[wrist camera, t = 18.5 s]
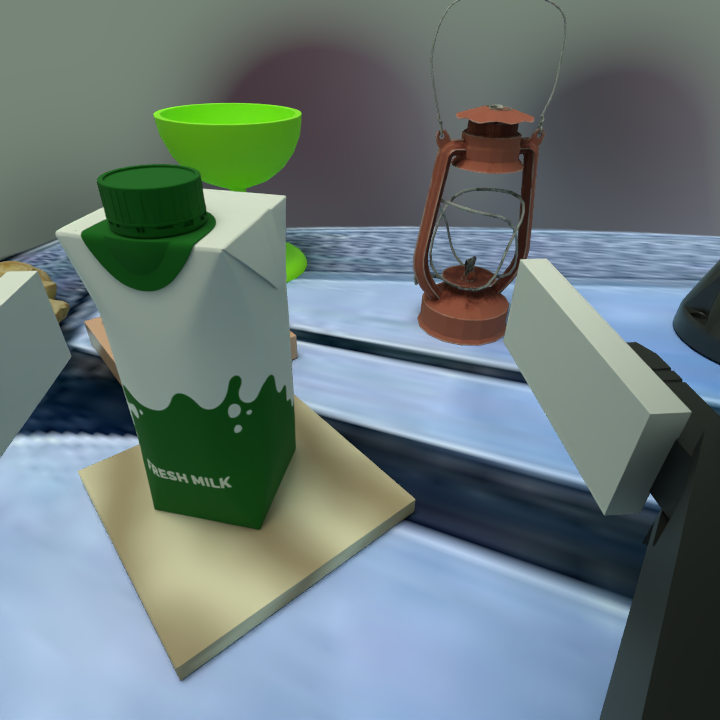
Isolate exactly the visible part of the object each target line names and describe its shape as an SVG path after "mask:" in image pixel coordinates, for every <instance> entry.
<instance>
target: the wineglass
mask: <svg viewBox="0 0 720 720" xmlns="http://www.w3.org/2000/svg"><path fill="white" fill-rule="evenodd" d="M153 116H154V119H155V122H156V125H157V128H158V131H159V134H160V137H161V138H162V140H163V141H164V143H165V145H166V147H167V148H168V150H169V152H170V153H171V155H172V157H173V158H174V159H175V160H176V161H177V162H178V163H179V164H180V165H181V166H187V167H191V168H194V169H196V170H198V171H199V172H200V175H201V180H202V181H204V182H206V183H208V184H212V185H216V186H220V187H224V188H229V189H230V191H235V192H246V188H248V187H252V186H255V185H257V184H260V183H263V182H265V181H267V180H269V179H270V178H271V177H273V176H274V175H275V174H276V173H278V172H279V171H280V170H281V169H282V168H283V167H284V166H285V164H286V163H287V161H288V160H289V158H290V157H291V156H292V154H293V153H294V150H295V147H296V144H297V141H298V139H299V135H300V127H301V112H300V111H298V110H296V109H292V108H288V107H283V106H276V105H265V104H248V103H214V104H195V105H185V106H176V107H171V108H166V109H162V110H159V111H156V112H155V113H154V114H153ZM306 267H307V260H306V257H305V255H304V254H303V253H302V252H301V250H300V249H299V248H297V247H295V246H294V245H292V244H290V243H288V242H286V275H287V279H286V283H287V282H289V281H291V280H293V279H295V278H297V277H298V276H299V275H301V274H302V273H303V272H304V271H305V269H306Z"/></svg>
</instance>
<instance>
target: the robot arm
mask: <svg viewBox="0 0 720 720" xmlns="http://www.w3.org/2000/svg"><path fill="white" fill-rule="evenodd" d="M673 326H674V329H675V331H676V332H677V334H678V335H679V336H680V337H681V339H682V340H683V341H685V342H686V343H687V344H688V345H689V346H691V347H692V348H694V349H695V350H697V351H698V352H700V353H701V354H703V355H705V356H707V357H708V358H710V359H712V360H714V361H716V362H719V363H720V260H719V261H718V262H717V263H716V264H715V265H714V266H713V268H712V269H711V270H710V271H709V272H708V273H707V274H706V275H705V276H704V277H703V278H702V279H701V280H700V282H699V283H698V284H697V285H696V286H695V287H694V288H693V289H692V290H691V291H690V292H689V293H688V295H687V296H686V297H685V298H684V299H683V300H682V302H681V304H680V306H679V308H678V310H677V313H676V315H675V317H674V320H673ZM503 342H504V343H505V345H506V347H507V349H508V350H509V352H510V354H511V355H512V357H513V359H514V361H515V362H516V364H517V366H518V368H519V369H520V371H521V373H522V374H523V376H524V378H525V380H526V381H527V383H528V385H529V387H530V388H531V390H532V392H533V393H534V395H535V397H536V399H537V400H538V402H539V404H540V405H541V407H542V409H543V411H544V412H545V414H546V416H547V418H548V419H549V421H550V423H551V424H552V426H553V428H554V430H555V431H556V433H557V435H558V436H559V438H560V440H561V442H562V443H563V445H564V447H565V449H566V450H567V452H568V454H569V455H570V457H571V459H572V461H573V462H574V464H575V466H576V468H577V469H578V471H579V473H580V474H581V476H582V478H583V480H584V481H585V483H586V485H587V486H588V488H589V490H590V492H591V493H592V495H593V497H594V499H595V500H596V502H597V504H598V505H599V507H600V509H601V511H602V512H603V514H604V515H618V514H635V513H640V512H641V510H642V508H643V506H644V504H645V502H646V500H647V498H648V496H649V494H650V493H651V495H652V496H653V497H654V499H655V500H656V502H657V503H658V505H659V506H660V507H661V510H660V512H659V514H658V515H657V517H656V519H655V521H654V523H653V525H652V526H651V528H650V530H649V532H648V534H647V535H646V537H645V539H644V541H643V544H645V545H647V546H648V547H647V551H646V554H645V558H644V562H643V565H642V569H641V572H640V576H639V580H638V583H637V587H636V590H635V594H634V597H633V601H632V605H631V608H630V612H629V615H628V619H627V623H626V626H625V630H624V633H623V637H622V641H621V644H620V648H619V651H618V655H617V659H616V662H615V666H614V669H613V673H612V677H611V680H610V684H609V687H608V691H607V694H606V698H605V702H604V705H603V709H602V712H601V716H600V720H720V416H719V415H718V414H717V413H716V412H715V411H714V410H713V409H712V408H711V407H710V406H709V405H708V404H707V403H706V402H705V401H704V400H703V399H702V398H701V397H700V396H699V395H698V394H697V393H696V392H695V391H694V390H693V389H692V388H691V387H690V386H689V385H688V384H687V383H686V382H682V379H681V378H680V377H679V376H678V375H677V374H676V373H675V372H674V371H671V368H670V367H669V366H668V365H667V364H666V363H665V362H664V361H663V360H662V359H661V358H660V357H659V356H658V355H657V354H656V353H654V352H652V351H651V350H649V349H647V348H645V347H644V346H642V345H640V344H639V343H637V342H631V343H626V342H625V341H624V340H623V339H622V338H621V337H620V336H619V335H618V334H617V333H616V332H615V330H614V329H613V328H612V327H611V326H610V325H609V324H608V323H607V322H606V321H605V320H604V319H603V318H602V317H601V316H600V315H599V314H598V313H597V312H596V310H595V309H594V308H593V307H592V306H591V305H590V304H589V303H588V302H587V301H586V300H585V299H584V298H583V297H582V296H581V295H580V294H579V293H578V292H577V290H576V289H575V288H574V287H573V286H572V285H571V284H570V283H569V282H568V281H567V280H566V279H565V278H564V277H563V276H562V275H561V274H560V273H559V271H558V270H557V269H556V268H555V267H554V266H553V265H552V264H551V263H550V262H549V261H548V260H547V259H520V263H519V268H518V273H517V277H516V282H515V287H514V292H513V297H512V302H511V306H510V311H509V316H508V321H507V326H506V330H505V335H504V340H503ZM70 358H71V354H70V352H69V349H68V347H67V344H66V341H65V339H64V336H63V334H62V331H61V329H60V326H59V324H58V321H57V319H56V316H55V313H54V311H53V308H52V306H51V303H50V301H49V298H48V296H47V293H46V291H45V288H44V285H43V283H42V280H41V278H40V275H39V273H38V271H9V272H6V273H5V274H4V275H3V276H2V277H1V278H0V458H1V456H2V455H3V453H4V452H5V451H6V449H7V448H8V446H9V445H10V443H11V442H12V441H13V439H14V438H15V436H16V435H17V433H18V432H19V431H20V429H21V428H22V426H23V425H24V423H25V422H26V421H27V419H28V418H29V416H30V415H31V413H32V412H33V411H34V409H35V408H36V406H37V405H38V403H39V402H40V401H41V399H42V398H43V396H44V395H45V393H46V392H47V391H48V389H49V388H50V386H51V385H52V383H53V382H54V381H55V379H56V378H57V376H58V375H59V373H60V372H61V371H62V369H63V368H64V366H65V365H66V363H67V362H68V361H69V359H70Z"/></svg>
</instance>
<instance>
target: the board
mask: <svg viewBox="0 0 720 720" xmlns="http://www.w3.org/2000/svg"><path fill="white" fill-rule="evenodd" d="M294 411H295V436H296V450H295V452H294V454H293V456H292V459H291V461H290V463H289V465H288V468H287V470H286V472H285V474H284V477H283V479H282V481H281V483H280V486H279V488H278V490H277V492H276V495H275V497H274V499H273V501H272V504H271V506H270V508H269V510H268V513H267V515H266V517H265V519H264V522H263V524H262V526H261V528H260V530H258V529H253V528H248V527H243V526H238V525H233V524H227V523H222V522H217V521H212V520H207V519H202V518H197V517H192V516H186V515H181V514H176V513H171V512H166V511H161V510H155V509H154V505H153V500H152V496H151V491H150V487H149V483H148V478H147V474H146V470H145V466H144V461H143V457H142V453H141V448H140V444H139V445H137V446H135V447H132V448H130V449H128V450H125V451H123V452H121V453H119V454H116V455H114V456H112V457H109V458H107V459H105V460H102V461H100V462H98V463H96V464H93V465H91V466H89V467H86V468H84V469H82V470H80V471H78V473H79V475H80V478H81V480H82V483H83V485H84V487H85V489H86V491H87V493H88V495H89V497H90V499H91V501H92V503H93V505H94V507H95V509H96V511H97V513H98V515H99V517H100V519H101V521H102V523H103V525H104V527H105V529H106V531H107V533H108V535H109V537H110V539H111V541H112V543H113V545H114V547H115V549H116V551H117V553H118V556H119V558H120V560H121V562H122V564H123V566H124V568H125V570H126V572H127V574H128V576H129V578H130V580H131V582H132V584H133V586H134V588H135V590H136V592H137V594H138V596H139V598H140V600H141V602H142V604H143V606H144V608H145V610H146V612H147V614H148V616H149V618H150V620H151V622H152V624H153V626H154V628H155V630H156V632H157V634H158V636H159V638H160V641H161V643H162V645H163V647H164V649H165V651H166V653H167V655H168V657H169V659H170V661H171V663H172V665H173V667H174V669H175V671H176V673H177V675H178V677H179V679H180V681H181V680H182V679H184V678H185V677H187V676H188V675H189V674H191V673H192V672H193V671H195V670H196V669H198V668H199V667H200V666H202V665H203V664H205V663H206V662H207V661H209V660H210V659H211V658H213V657H214V656H216V655H217V654H218V653H220V652H221V651H222V650H224V649H225V648H227V647H228V646H229V645H231V644H232V643H233V642H235V641H236V640H238V639H239V638H240V637H242V636H243V635H245V634H246V633H247V632H249V631H250V630H251V629H253V628H254V627H256V626H257V625H258V624H260V623H261V622H262V621H264V620H265V619H267V618H268V617H269V616H271V615H272V614H273V613H275V612H276V611H278V610H279V609H280V608H282V607H283V606H285V605H286V604H287V603H289V602H290V601H291V600H293V599H294V598H296V597H297V596H298V595H300V594H301V593H302V592H304V591H305V590H307V589H308V588H309V587H311V586H312V585H313V584H315V583H316V582H318V581H319V580H320V579H322V578H323V577H324V576H326V575H327V574H329V573H330V572H331V571H333V570H334V569H336V568H337V567H338V566H340V565H341V564H342V563H344V562H345V561H347V560H348V559H349V558H351V557H352V556H353V555H355V554H356V553H358V552H359V551H360V550H362V549H363V548H364V547H366V546H367V545H369V544H370V543H371V542H373V541H374V540H376V539H377V538H378V537H380V536H381V535H382V534H384V533H385V532H387V531H388V530H389V529H391V528H392V527H393V526H395V525H396V524H398V523H399V522H400V521H402V520H403V519H404V518H406V517H407V516H409V515H410V514H411V513H413V512H414V507H415V499H414V498H413V497H412V496H411V495H410V494H409V493H407V492H406V491H405V490H404V489H403V488H402V487H401V486H399V485H398V484H397V483H396V482H395V481H394V480H392V479H391V478H390V477H389V476H388V475H387V474H385V473H384V472H383V471H382V470H381V469H380V468H379V467H377V466H376V465H375V464H374V463H373V462H372V461H370V460H369V459H368V458H367V457H366V456H365V455H364V454H362V453H361V452H360V451H359V450H358V449H357V448H355V447H354V446H353V445H352V444H351V443H350V442H348V441H347V440H346V439H345V438H344V437H343V436H342V435H340V434H339V433H338V432H337V431H336V430H335V429H333V428H332V427H331V426H330V425H329V424H328V423H327V422H325V421H324V420H323V419H322V418H321V417H320V416H318V415H317V414H316V413H315V412H314V411H313V410H311V409H310V408H309V407H308V406H307V405H306V404H305V403H303V402H302V401H301V400H300V399H299V398H298V397H296V396H295V395H294Z"/></svg>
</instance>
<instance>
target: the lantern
mask: <svg viewBox="0 0 720 720" xmlns="http://www.w3.org/2000/svg"><path fill="white" fill-rule="evenodd" d="M458 1H460V0H456V1H454V2H453V3H452V4H451V5H450V6H449V7H448V8H447V9H446V11H445V13H444V14H443V16H442V18H441V20H440V22H439V25H438V27H437V30H436V33H435V36H434V40H433V45H432V51H431V75H432V82H433V83H432V84H433V90H434V96H435V101H436V107H437V112H438V116H437V120H438V121H439V124H440V126H439V129H440V130H439V131H438V132H437V133H436V142H437V145H438V147H439V149H438V152H437V156H436V160H435V165H434V169H433V174H432V178H431V182H430V186H429V191H428V196H427V200H426V204H425V208H424V213H423V217H422V221H421V226H420V230H419V234H418V239H417V243H416V247H415V252H414V256H413V269H414V280H415V281H414V283H415V285H417V284H418V283H419V285H420V287H421V289H422V290H423V291H424V292H425V293H424V294H423V295H422V304H421V313H420V314H419V316H418V322H419V326H420V327H421V328H422V329H423V330H424V331H425V332H426V333H427V334H429V335H431V336H433V337H435V338H437V339H439V340H441V341H444V342H449V343H454V344H458V345H483V344H487V343H492V342H495V341H497V340H498V339H500V338H501V337H503V336H504V335H505V330H506V326H507V325H506V323H505V322H506V317H507V312H508V308H509V303H508V301H507V299H506V298H505V296H503V295H502V294H500V293H501V292H502V291H503V290H504V289H505V288H506V287H507V286H508V285H509V284H510V283H511V282H512V281H513V280H514V278H515V277H516V276H517V273H518V268H519V263H520V259H527V256H528V253H529V249H530V238H531V228H532V218H533V208H534V197H535V187H536V177H537V167H538V156H539V145H540V144H541V142H542V141H543V139H544V137H545V131H544V129H542V122H543V121H544V117H543V115H544V112H545V110H546V108H547V106H548V104H549V102H550V100H551V98H552V96H553V93H554V91H555V88H556V84H557V80H558V76H559V71H560V66H561V61H562V54H563V48H564V42H565V36H566V18H565V15H564V12H563V11H562V9H561V8H560V7H559V6H558V5H556V4H555V3H553V2H552V1H550V0H545V1H548V2H549V3H551V4H553V5H554V6H555V7H557V8H558V9H559V10H560V11H561V13H562V15H563V17H564V37H563V43H562V50H561V57H560V62H559V67H558V73H557V77H556V82H555V85H554V89H553V92H552V94H551V97H550V99H549V101H548V103H547V105H546V107H545V109H544V111H543V113H542V115H540V117H541V122H539V123H540V124H539V126H538V128H537V130H536V131H535V132H534V133H533V134H532V136H531V137H528V138H527V137H526V138H521V136H522V135H521V134H520V133H519V132H517V130H518V124H519V123H521V122H529V123H531V122H533V121H534V117H532V116H529V115H527V114H524V113H522V112H519V111H517V110H514V109H512V108H509V107H506V106H502V105H489V106H481V107H478V108H474V109H470V110H466V111H463V112H459V113H456V116H457V118H458V119H462V118H467V119H469V122H468V128H467V129H465V130H464V131H463V132H462V138H461V139H450V136H449V134H448V133H447V131H446V130H442V121H441V120H440V114H439V109H438V104H437V98H436V92H435V86H434V78H433V69H432V68H433V67H432V58H433V49H434V44H435V40H436V36H437V33H438V30H439V27H440V24H441V22H442V20H443V18H444V16H445V14H446V13H447V11H448V9H449V8H450V7H451V6H452V5H453V4H454V3H456V2H458ZM540 126H541V128H539V127H540ZM442 133H443V134H444V138H443V139H440V138H439V136H440V134H441V137H442V136H443V135H442ZM537 134H541V136H540V137H539V138H538V137H537ZM519 154H523V155H524V163H523V165H522V163H521V161H520V160H519ZM453 156H456V157H455V158H454V159H453V160H452V161H451V159H452V157H453ZM450 163H452V165H453V166H455V167H458V168H460V169H464V170H468V171H472V172H480V173H495V174H496V173H498V174H504V173H515V172H518V171H521V170H523V176H522V189H521V196H520V195H518V194H516V193H514V192H512V191H509V190H504V189H496V188H471V189H466V190H463V191H461V192H459V193H458V194H456V195H454V196H453V197H452V198H451V199H450V201H446V200H443V199H441V198H442V194H443V191H444V187H445V182H446V179H447V175H448V171H449V167H450ZM471 191H496V192H502V193H508V194H511V195H513V196H515V197H517V198H519V200H520V215H519V224H518V226H517V228H515V227H514V225H513V224H512V223H511V221H510V220H509V219H506V218H504V217H502V216H500V215H496V214H491V213H486V212H481V211H475V210H472V209H469V208H466V207H462V206H460V205H457V204H455V203H452V201H453V199H454V198H456V197H458V196H460V195H461V194H463V193H466V192H471ZM440 202H442V203H446V205H445V207H444V209H443V210H442V208H441V206H440ZM448 205H451V206H454V207H456V208H459V209H461V210H465V211H468V212H471V213H474V214H479V215H485V216H490V217H494V218H499V219H501V220H503V221H505V222H507V223H508V224H509V225H510V226H511V228H512V229H513V232H514V233H513V235H512V238H511V240H510V242H509V244H508V246H507V248H506V250H505V253H504V255H503V258H502V260H501V262H500V265H499V267H498V269H497V271H496V273H495V274H493V273H492V272H490V271H489V270H487V269H484V268H481V267H476V266H474V265H475V262H476V257H475V256H474V257H472V258H470V259H468V260H466V262H465V264H463V263H462V261H461V260H460V259H459V258H458V257H457V256H456V253H455V251H454V249H453V246H452V242H451V237H450V232H449V227H448V222H447V219H446V216H445V213H444V212H445V210H446V208H447V206H448ZM439 209H440V211H441V215H440V217H439V219H438V221H437V224H436V227H435V230H434V226H435V222H436V218H437V214H438V210H439ZM442 216H443V217H444V220H445V223H446V227H447V233H448V238H449V243H450V247H451V249H452V252H453V254H454V257H455V258H456V259H457V260H458V262H459V263H460V264H461V265H457V266H451V267H448V268H446V269H444V271H443V272H442V276H441V275H439V274H438V273H437V271H436V270H435V268H434V266H433V264H432V255H431V253H432V247H433V241H434V237H435V234H436V231H437V228H438V225H439V222H440V220H441V218H442ZM433 230H434V233H433ZM517 231H518V239H517ZM432 234H433V237H432ZM514 237H515V241H516V252H515V255H514V258H513V260H512V262H511V263H510V265H509V267H508V268H507V269H506V270H505V272H504V273H503V274H502V276H500V275H497V274H498V272H499V270H500V268H501V266H502V264H503V261H504V259H505V256H506V254H507V252H508V249H509V247H510V245H511V243H512V241H513V239H514ZM431 238H432V240H431ZM430 242H431V246H430ZM429 246H430V252H429V255H430V265H431V267H432V269H433V271H434V273H435V275H434V274H431V273H430V271H429V266H428V251H429ZM432 277H433V278H438V279H441V280H443V281H444V282H442V283H439V284H436V283H435V282H434V280H433V278H432ZM497 278H499V279H498V280H497ZM496 280H497V281H496ZM491 285H492V286H491ZM490 286H491V287H490Z"/></svg>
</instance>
